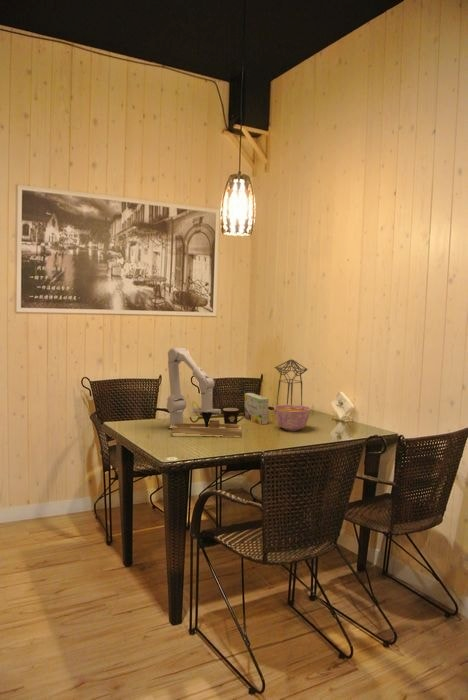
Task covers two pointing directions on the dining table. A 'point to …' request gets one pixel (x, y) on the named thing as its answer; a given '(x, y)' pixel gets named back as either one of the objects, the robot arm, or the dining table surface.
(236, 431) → the trap trough
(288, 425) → the bowl of food
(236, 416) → the coffee mug
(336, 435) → the dining table surface
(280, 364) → the geometric lantern
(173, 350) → the robot arm
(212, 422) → the walnut block
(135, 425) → the dining table surface
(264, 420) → the snack box
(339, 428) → the dining table surface
